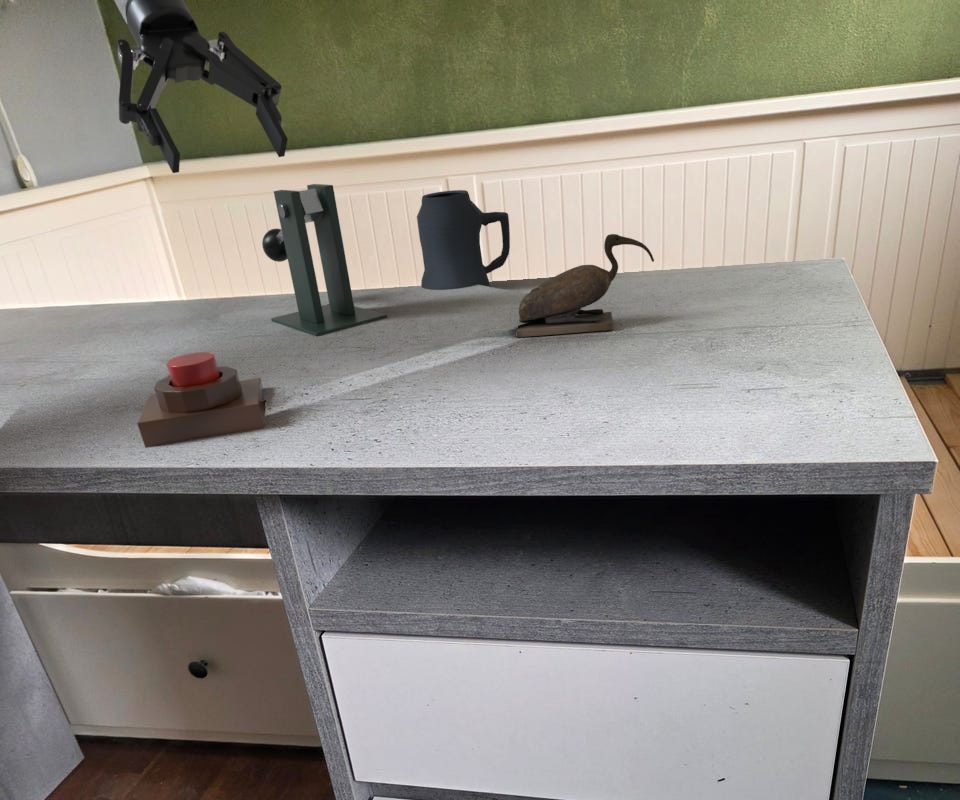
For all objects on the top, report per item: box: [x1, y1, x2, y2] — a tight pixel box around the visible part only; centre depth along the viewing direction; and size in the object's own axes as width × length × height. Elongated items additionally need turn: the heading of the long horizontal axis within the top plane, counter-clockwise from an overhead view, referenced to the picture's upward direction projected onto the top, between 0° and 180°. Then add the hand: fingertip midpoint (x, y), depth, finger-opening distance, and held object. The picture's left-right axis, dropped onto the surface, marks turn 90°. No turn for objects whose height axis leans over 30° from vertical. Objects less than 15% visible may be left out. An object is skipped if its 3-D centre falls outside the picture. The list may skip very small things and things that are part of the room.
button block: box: [137, 365, 267, 448], centre depth 76 cm, size 10×8×4 cm
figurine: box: [515, 233, 655, 338], centre depth 89 cm, size 14×4×9 cm, turn 84°
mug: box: [416, 189, 511, 291], centre depth 109 cm, size 12×9×11 cm
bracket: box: [270, 183, 388, 337], centre depth 98 cm, size 12×9×15 cm
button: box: [166, 351, 220, 387], centre depth 75 cm, size 4×4×2 cm
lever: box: [262, 188, 323, 263], centre depth 100 cm, size 14×4×4 cm, turn 36°
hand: (231, 156), depth 105 cm, fingers open, 13 cm apart
